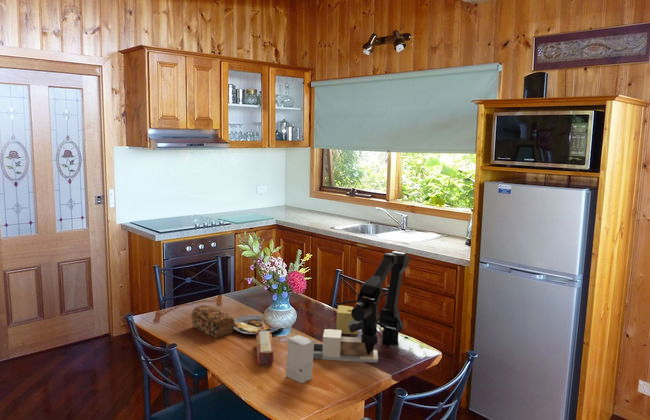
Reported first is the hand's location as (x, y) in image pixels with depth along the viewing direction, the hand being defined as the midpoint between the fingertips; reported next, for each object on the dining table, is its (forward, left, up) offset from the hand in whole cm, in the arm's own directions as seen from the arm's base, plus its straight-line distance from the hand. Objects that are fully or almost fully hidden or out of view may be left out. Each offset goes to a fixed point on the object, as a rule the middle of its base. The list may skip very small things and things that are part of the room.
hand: (368, 351), depth 217 cm
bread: (+69, -19, -3) cm, 72 cm away
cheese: (+9, -28, -2) cm, 30 cm away
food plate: (+50, -25, -3) cm, 56 cm away
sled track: (+9, 0, -2) cm, 10 cm away
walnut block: (+5, 0, -1) cm, 5 cm away
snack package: (+41, +4, -3) cm, 42 cm away
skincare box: (+25, +22, -2) cm, 34 cm away
